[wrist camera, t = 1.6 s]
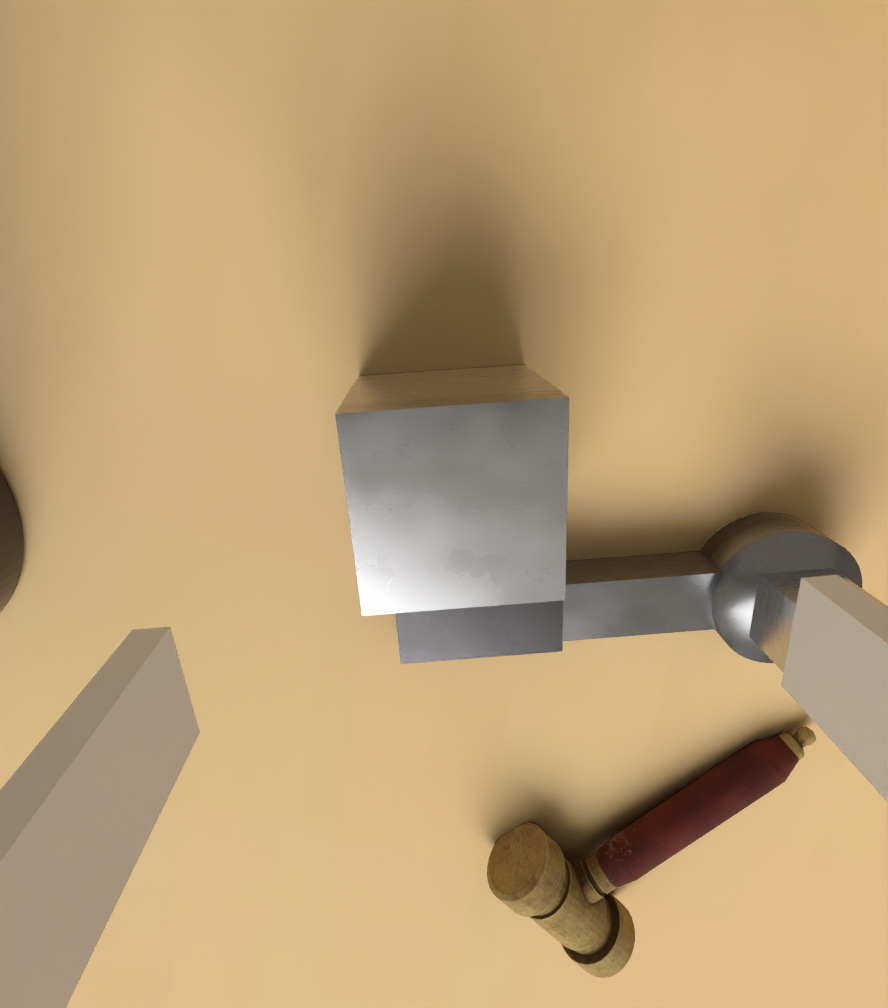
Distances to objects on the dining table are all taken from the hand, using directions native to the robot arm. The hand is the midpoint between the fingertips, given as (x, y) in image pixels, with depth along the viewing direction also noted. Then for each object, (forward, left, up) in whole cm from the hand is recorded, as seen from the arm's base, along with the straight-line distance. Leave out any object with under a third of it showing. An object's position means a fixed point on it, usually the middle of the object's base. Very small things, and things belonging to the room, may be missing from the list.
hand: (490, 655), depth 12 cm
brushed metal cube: (0, 0, -16) cm, 16 cm away
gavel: (+12, -25, -17) cm, 32 cm away
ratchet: (+8, -8, -16) cm, 20 cm away
